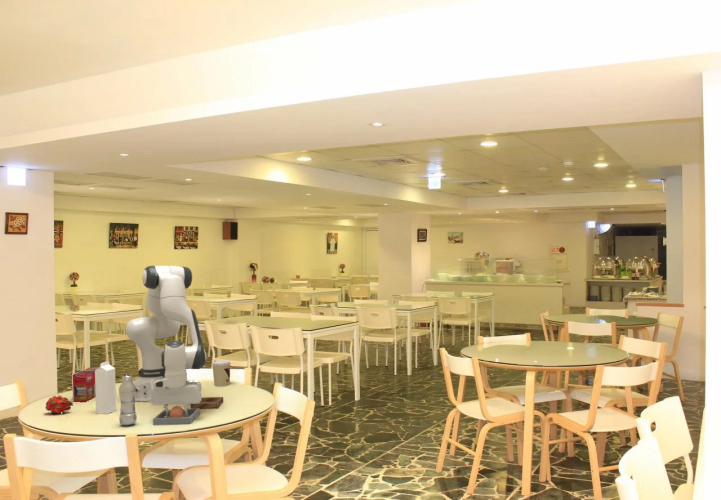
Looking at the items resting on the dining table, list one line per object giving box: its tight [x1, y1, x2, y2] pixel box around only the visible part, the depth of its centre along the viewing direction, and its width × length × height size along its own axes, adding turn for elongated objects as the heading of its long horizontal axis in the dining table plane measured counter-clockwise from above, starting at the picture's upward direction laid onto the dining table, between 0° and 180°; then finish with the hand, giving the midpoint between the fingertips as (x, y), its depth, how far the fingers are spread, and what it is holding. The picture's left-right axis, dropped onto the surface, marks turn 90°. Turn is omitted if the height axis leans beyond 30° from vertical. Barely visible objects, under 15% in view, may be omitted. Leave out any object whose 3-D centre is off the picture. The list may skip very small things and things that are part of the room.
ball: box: [169, 405, 184, 418], centre depth 261 cm, size 6×6×6 cm
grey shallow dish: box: [152, 408, 201, 426], centre depth 261 cm, size 15×15×2 cm
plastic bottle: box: [118, 374, 138, 426], centre depth 255 cm, size 6×7×20 cm
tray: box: [189, 396, 224, 410], centre depth 284 cm, size 12×12×2 cm
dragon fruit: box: [44, 395, 74, 414], centre depth 278 cm, size 8×8×12 cm
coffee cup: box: [212, 360, 231, 388], centre depth 329 cm, size 9×9×12 cm
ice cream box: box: [71, 366, 100, 403], centre depth 309 cm, size 20×6×13 cm, turn 1°
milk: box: [95, 360, 117, 415], centre depth 278 cm, size 6×6×22 cm
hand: (177, 414), depth 261 cm, fingers closed on ball, 6 cm apart
